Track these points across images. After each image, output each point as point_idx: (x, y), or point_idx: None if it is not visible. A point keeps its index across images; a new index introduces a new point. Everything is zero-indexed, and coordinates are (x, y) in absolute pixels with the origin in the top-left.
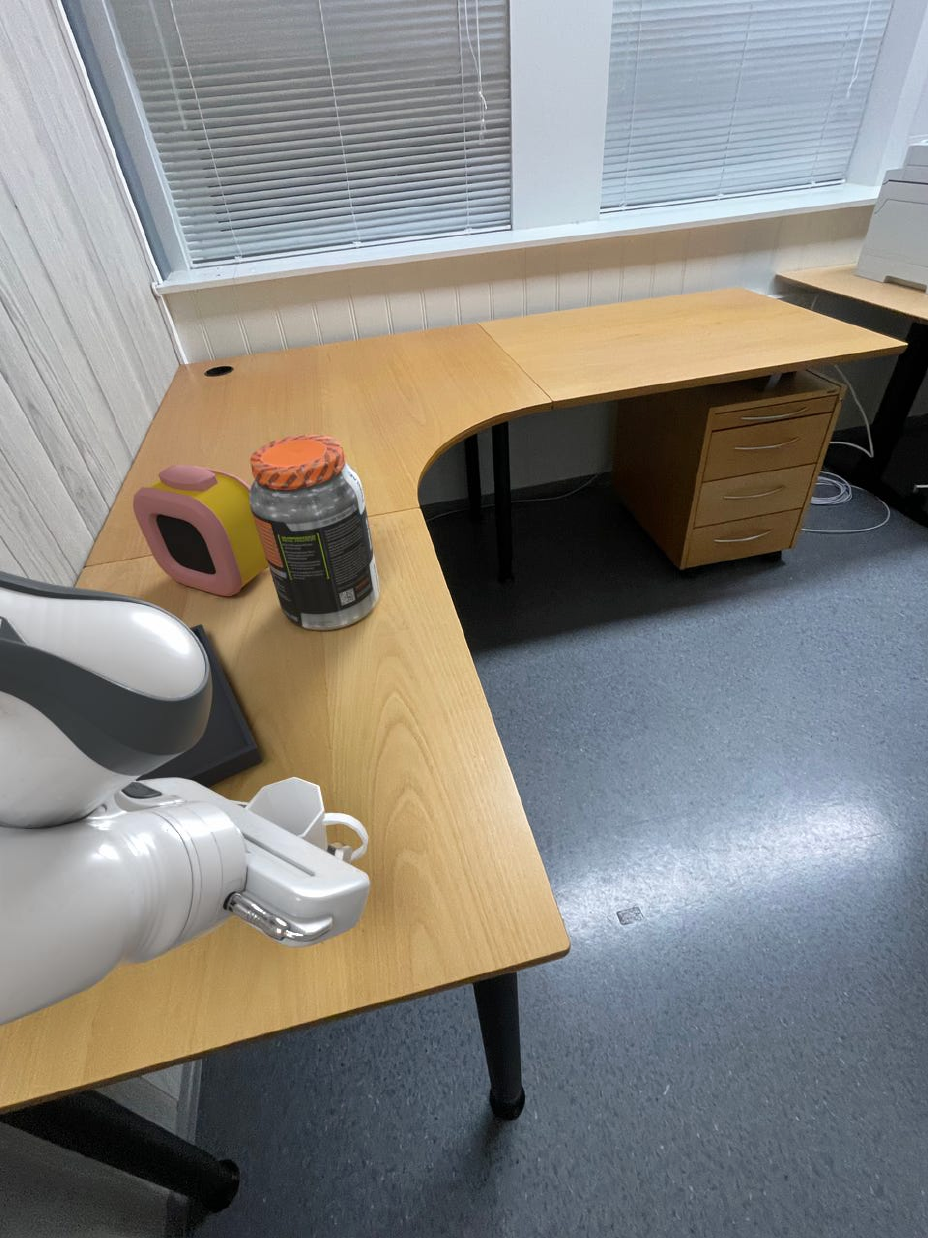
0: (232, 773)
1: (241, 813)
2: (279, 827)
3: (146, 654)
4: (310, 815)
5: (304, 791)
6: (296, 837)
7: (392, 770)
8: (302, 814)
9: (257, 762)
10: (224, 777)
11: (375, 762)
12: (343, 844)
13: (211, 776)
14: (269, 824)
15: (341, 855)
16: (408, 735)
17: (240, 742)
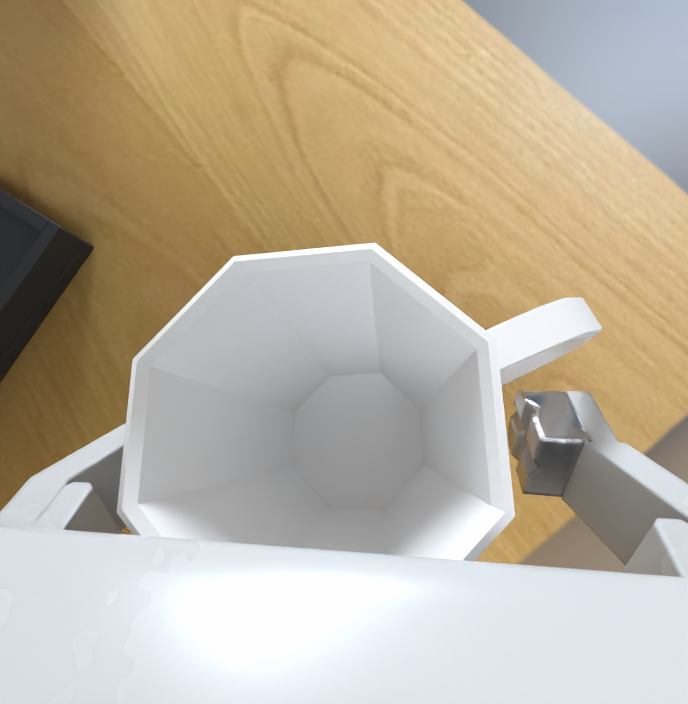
0: (55, 293)
1: (122, 645)
2: (392, 574)
3: None
4: (339, 341)
5: (304, 290)
6: (559, 608)
7: (336, 151)
8: (307, 347)
9: (85, 253)
10: (46, 307)
11: (296, 152)
12: (555, 397)
13: (19, 319)
14: (337, 608)
15: (667, 476)
16: (322, 75)
17: (26, 233)
